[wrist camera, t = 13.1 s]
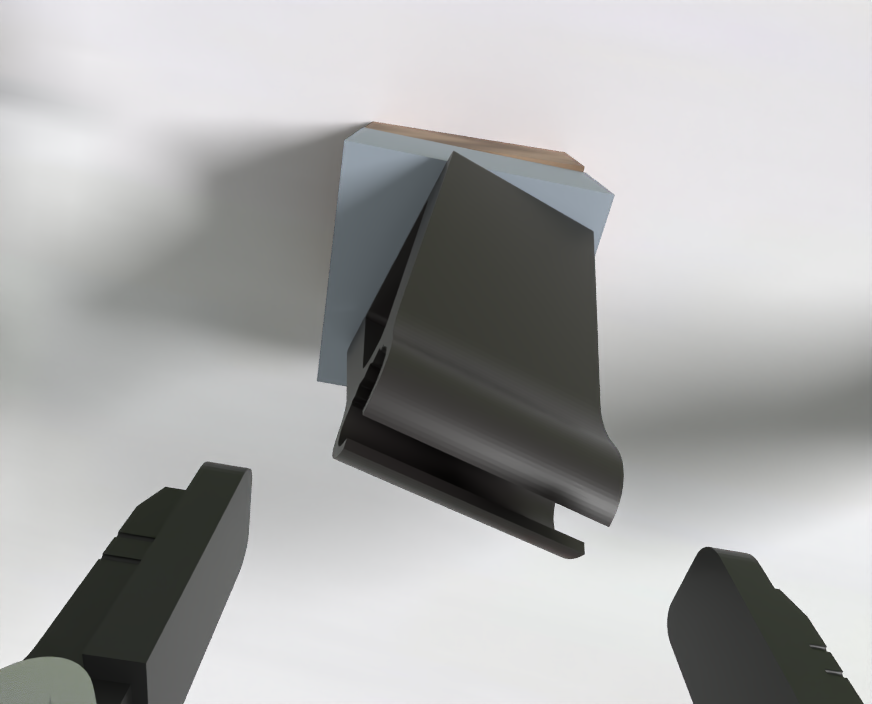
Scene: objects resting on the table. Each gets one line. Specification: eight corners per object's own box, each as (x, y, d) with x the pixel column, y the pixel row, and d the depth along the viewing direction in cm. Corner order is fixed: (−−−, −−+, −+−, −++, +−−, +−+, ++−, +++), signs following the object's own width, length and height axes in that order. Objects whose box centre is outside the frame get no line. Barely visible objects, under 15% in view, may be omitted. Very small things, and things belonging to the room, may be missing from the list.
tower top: (585, 172, 26) (614, 194, 21) (527, 367, 30) (541, 420, 26) (363, 127, 25) (344, 139, 21) (337, 333, 29) (316, 381, 25)
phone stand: (454, 148, 21) (464, 237, 10) (592, 229, 22) (736, 388, 11) (347, 346, 24) (269, 572, 13) (471, 406, 25) (491, 658, 15)
